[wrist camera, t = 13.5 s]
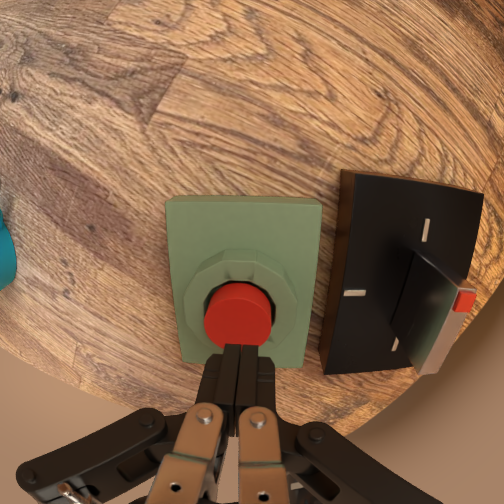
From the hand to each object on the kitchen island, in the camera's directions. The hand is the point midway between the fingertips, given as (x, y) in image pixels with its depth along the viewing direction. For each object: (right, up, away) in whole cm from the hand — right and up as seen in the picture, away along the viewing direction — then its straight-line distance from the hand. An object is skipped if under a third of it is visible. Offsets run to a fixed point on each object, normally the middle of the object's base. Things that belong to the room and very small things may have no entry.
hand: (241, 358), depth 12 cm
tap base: (+11, +3, +7) cm, 13 cm away
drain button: (0, +1, +4) cm, 4 cm away
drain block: (0, +3, +7) cm, 8 cm away
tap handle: (+11, +2, +4) cm, 12 cm away
